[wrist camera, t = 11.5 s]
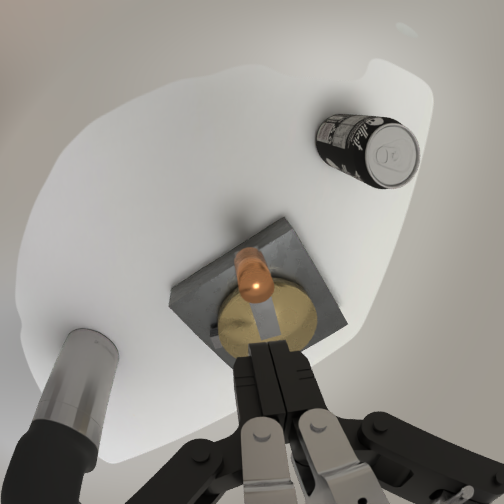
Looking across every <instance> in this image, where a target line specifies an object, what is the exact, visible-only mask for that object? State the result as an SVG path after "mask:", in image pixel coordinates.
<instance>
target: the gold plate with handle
mask: <svg viewBox="0 0 504 504" xmlns="http://www.w3.org/2000/svg"><path fill="white" fill-rule="evenodd" d="M234 254H235V259H234V265H235V270H236V276H237V281H238V288H237V289H235V290H234V291H233V292H232V293H231V294H230V295H229V296H228V297H227V298H226V299H225V301H224V302H223V304H222V305H221V307H220V310H219V313H218V327H216V328H212V329H210V339H211V341H212V343H213V345H214V347H215V349H217V348H221V347H224V349H225V350H226V351H227V352H228V353H229V354H230V355H231V356H233V357H234V358H236V359H237V357H246V356H248V344H249V343H259V342H269V341H278V340H286V342H287V344H288V347H289V350H290V352H292V351H300V350H302V349H303V348H304V347H305V346H306V345H307V344H308V343H309V341H310V340H311V338H312V337H313V335H314V333H315V330H316V327H317V313H316V309H315V307H314V305H313V303H312V301H311V299H310V297H309V296H308V294H307V293H306V291H305V290H304V289H303V288H302V287H300V286H299V285H297V284H296V283H294V282H292V281H289V280H286V279H282V278H272V277H271V274H270V272H269V269H268V266H267V264H266V261H265V259H264V256H263V254H262V252H261V251H260V250H259V249H258V246H254V247H247V248H244V249H242V250H240V251H237V252H234Z"/></svg>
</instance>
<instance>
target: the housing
mask: <svg viewBox="0 0 504 504" xmlns="http://www.w3.org/2000/svg"><path fill="white" fill-rule="evenodd" d="M254 246H258V249H259V250H260V251H261V252H262V254H263V256H264V259H265V261H266V264H267V266H268V269H269V272H270V274H271V277H272V278H282V279H286V280H289V281H292V282H294V283H296V284H297V285H299V286H300V287H302V288H303V289H304V290H305V291H306V293H307V294H308V296H309V297H310V299H311V301H312V303H313V305H314V307H315V309H316V313H317V327H316V330H315V333H314V335H313V337H312V338H311V340H310V341H309V343H308V344H307V345H306V346H305V347H304V348H303V349H302V350H300V352H302V351H303V350H305V349H307V348H309V347H310V346H312V345H314V344H316V343H317V342H319V341H321V340H323V339H324V338H326V337H328V336H329V335H331V334H333V333H335V332H336V331H338V330H339V329H341V328H343V327H344V326H346V325H348V323H347V321H346V320H345V318H344V316H343V314H342V312H341V311H340V309H339V307H338V305H337V303H336V302H335V300H334V298H333V296H332V295H331V293H330V291H329V289H328V287H327V286H326V284H325V282H324V281H323V279H322V277H321V275H320V274H319V272H318V270H317V268H316V267H315V265H314V263H313V262H312V260H311V258H310V256H309V255H308V253H307V251H306V250H305V248H304V246H303V245H302V243H301V241H300V240H299V238H298V236H297V235H296V233H295V231H294V230H293V228H292V227H291V225H290V224H289V222H288V221H287V220H286V218H285V217H283V218H282V219H280V220H279V221H277V222H275V223H274V224H272V225H271V226H269V227H267V228H266V229H264V230H263V231H261V232H259V233H258V234H256V235H255V236H253V237H251V238H250V239H248V240H247V241H245V242H244V243H242V244H240V245H239V246H237V247H236V248H234V249H232V250H231V251H229V252H228V253H226V254H225V255H223V256H221V257H220V258H218V259H217V260H215V261H214V262H212V263H210V264H209V265H207V266H206V267H204V268H203V269H201V270H199V271H198V272H196V273H195V274H193V275H192V276H190V277H189V278H187V279H185V280H184V281H182V282H181V283H179V284H178V285H176V286H175V287H173V288H172V289H171V295H170V301H169V307H170V308H171V309H172V310H173V311H174V312H175V313H176V314H177V315H178V316H179V317H180V319H181V320H182V321H183V322H184V323H185V324H186V325H187V326H188V327H189V328H190V329H191V330H192V331H193V332H194V333H195V334H196V335H197V336H198V337H199V338H200V339H201V340H202V341H203V342H204V343H205V344H206V345H208V346H209V347H210V348H211V349H212V350H213V351H214V352H215V353H216V354H217V355H218V356H219V357H220V358H221V359H222V360H223V361H224V362H225V363H226V364H228V365H229V366H230V367H231V368H232V369H233V366H234V363H235V361H236V358H234V357H233V356H231V355H230V354H229V353H228V352H227V351H226V350H225V349H224V347H221V348H217V349H215V347H214V345H213V343H212V341H211V339H210V329H212V328H216V327H218V313H219V310H220V307H221V305H222V304H223V302H224V301H225V299H226V298H227V297H228V296H229V295H230V294H231V293H232V292H233V291H234V290H235V289H237V288H238V281H237V276H236V270H235V265H234V259H235V254H234V252H237V251H240V250H242V249H244V248H247V247H254Z"/></svg>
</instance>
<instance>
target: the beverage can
mask: <svg viewBox="0 0 504 504" xmlns="http://www.w3.org/2000/svg"><path fill="white" fill-rule="evenodd" d="M316 143H317V149H318V152H319V154H320V156H321V158H322V159H323V160H324V161H325V162H326V163H327V164H328V165H330V166H331V167H334V168H336V169H338V170H340V171H342V172H344V173H346V174H348V175H350V176H352V177H354V178H356V179H358V180H360V181H362V182H364V183H366V184H368V185H370V186H372V187H374V188H378V189H396V188H400V187H402V186H404V185H406V184H407V183H408V182H410V181H411V180H412V178H413V177H414V175H415V174H416V172H417V170H418V167H419V163H420V148H419V144H418V141H417V139H416V137H415V136H414V134H413V133H412V132H411V131H410V130H409V129H408V128H407V127H405V126H403V125H402V124H401V123H399V122H398V121H396V120H394V119H391V118H387V117H376V116H363V115H346V114H339V115H334V116H332V117H330V118H328V119H327V120H326V121H324V123H323V124H322V125H321V126H320V128H319V131H318V133H317V139H316Z"/></svg>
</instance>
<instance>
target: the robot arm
mask: <svg viewBox="0 0 504 504" xmlns="http://www.w3.org/2000/svg"><path fill="white" fill-rule="evenodd" d="M118 361H119V355H118V351H117V349H116V347H115V346H114V344H113V343H112V342H111V341H110V340H109V339H107V338H106V337H105V336H103V335H101V334H100V333H97V332H95V331H92V330H88V329H78V330H75V331H72V332H71V333H70V334H69V335H68V337H67V339H66V341H65V343H64V345H63V347H62V349H61V352H60V354H59V356H58V358H57V360H56V362H55V365H54V367H53V369H52V372H51V374H50V376H49V379H48V381H47V383H46V386H45V388H44V391H43V393H42V396H41V399H40V401H39V404H38V407H37V409H36V412H35V415H34V418H33V420H32V423H31V425H30V428H29V430H28V431H27V432H26V433H25V434H24V435H23V436H22V437H21V438H20V440H19V441H18V443H17V445H16V448H15V451H14V453H13V456H12V458H11V461H10V464H9V467H8V469H7V473H6V475H5V478H4V482H3V486H2V491H1V504H81V503H80V502H79V495H80V490H81V484H82V480H83V476H84V473H88V472H91V471H92V470H93V469H94V468H95V466H96V462H97V456H98V450H99V445H100V439H101V434H102V429H103V424H104V419H105V414H106V410H107V405H108V401H109V397H110V393H111V388H112V384H113V380H114V377H115V373H116V369H117V365H118ZM233 376H234V391H235V399H236V406H237V413H238V421H239V427H238V428H237V430H236V431H235V432H234V433H233V434H232V435H230V436H229V437H227V438H225V439H222V440H219V441H216V442H213V441H210V440H207V439H194V440H191V441H189V442H187V443H186V444H184V445H183V446H182V447H181V448H180V449H179V451H178V452H177V453H176V454H175V455H174V456H173V457H172V458H171V459H170V460H169V461H168V462H167V463H166V464H165V465H164V466H163V467H162V468H161V469H160V470H159V471H158V472H157V473H156V474H155V475H154V476H153V477H152V478H151V479H150V480H149V481H148V482H147V483H146V484H145V485H144V486H143V487H142V488H141V489H140V490H139V491H138V492H137V493H135V494H134V495H133V496H132V497H131V498H130V499H129V500H128V501H127V502H126V503H125V504H216V503H217V502H218V500H219V499H220V498H221V497H222V496H223V494H224V493H225V492H226V491H227V490H230V489H233V488H235V487H238V486H240V485H242V484H243V485H244V503H245V504H297V498H296V492H295V487H294V484H293V482H292V481H291V479H290V473H289V466H288V460H287V453H286V447H285V444H287V443H290V446H291V450H292V453H291V461H292V464H293V467H294V470H295V473H296V475H297V478H298V481H299V484H300V486H301V489H302V492H303V494H304V497H305V504H390V503H389V502H388V500H387V498H386V496H385V494H384V492H383V490H382V488H383V489H385V490H387V491H389V492H391V493H393V494H396V495H398V496H399V497H402V498H404V499H406V500H408V501H410V502H413V503H415V504H491V503H492V501H494V500H495V499H497V498H498V497H500V496H501V495H502V494H504V464H502V463H499V462H497V461H494V460H492V459H489V458H486V457H484V456H481V455H479V454H476V453H474V452H471V451H469V450H466V449H464V448H462V447H459V446H457V445H455V444H452V443H450V442H448V441H445V440H443V439H441V438H439V437H437V436H434V435H432V434H430V433H428V432H426V431H423V430H421V429H419V428H417V427H415V426H413V425H411V424H409V423H406V422H404V421H402V420H400V419H398V418H396V417H394V416H392V415H390V414H388V413H385V412H373V413H370V414H368V415H367V416H366V417H365V418H364V419H363V420H355V419H343V418H340V417H337V416H335V415H334V414H333V413H331V412H330V411H329V410H328V409H327V407H326V405H325V402H324V399H323V397H322V394H321V392H320V389H319V386H318V384H317V381H316V379H315V377H314V374H313V371H312V370H311V366H310V363H309V361H308V358H306V357H305V356H304V355H303V354H302V353H301V352H300V351H292V352H290V350H289V347H288V344H287V342H286V340H278V341H269V342H259V343H249V344H248V356H246V357H237V359H236V361H235V363H234V366H233Z"/></svg>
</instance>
